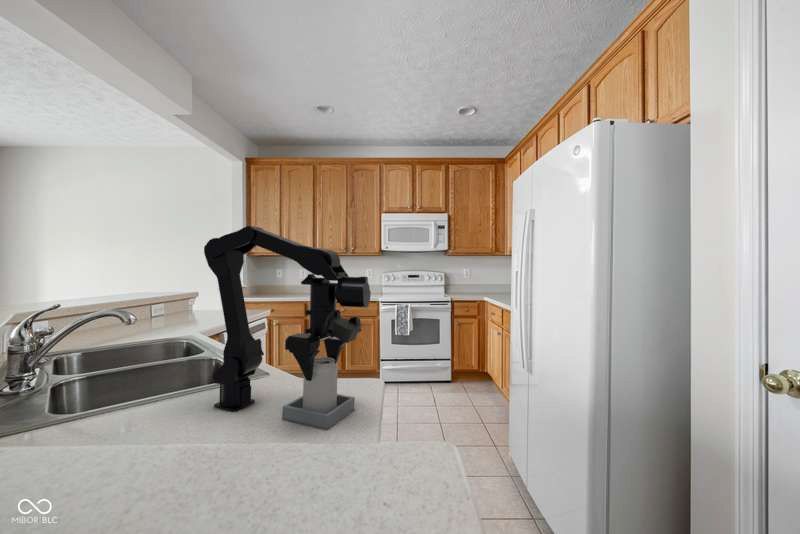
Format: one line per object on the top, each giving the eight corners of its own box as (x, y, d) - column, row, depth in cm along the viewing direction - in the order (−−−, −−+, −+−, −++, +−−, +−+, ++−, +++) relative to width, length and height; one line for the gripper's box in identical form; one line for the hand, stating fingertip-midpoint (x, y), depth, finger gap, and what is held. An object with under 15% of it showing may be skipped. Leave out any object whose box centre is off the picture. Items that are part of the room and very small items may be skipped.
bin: (282, 420, 80) (282, 406, 80) (313, 401, 90) (313, 389, 90) (327, 430, 75) (327, 416, 75) (354, 410, 86) (354, 397, 86)
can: (328, 421, 78) (329, 365, 78) (296, 417, 80) (297, 362, 80) (341, 408, 86) (342, 357, 86) (311, 404, 87) (313, 354, 87)
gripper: (331, 313, 71) (329, 393, 71) (373, 303, 88) (371, 368, 88) (284, 308, 75) (282, 385, 75) (333, 300, 92) (331, 362, 93)
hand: (321, 374), depth 83 cm, fingers open, 9 cm apart
